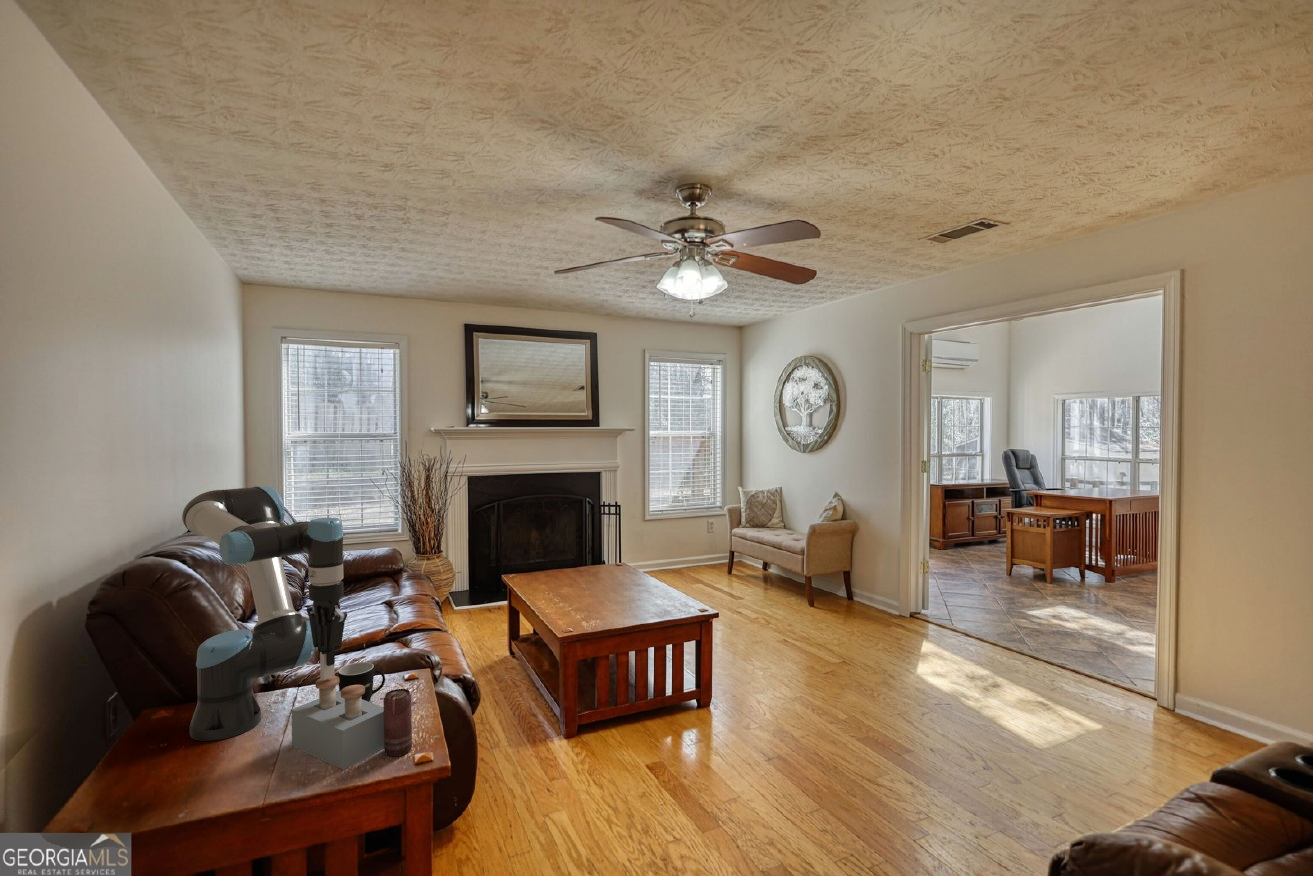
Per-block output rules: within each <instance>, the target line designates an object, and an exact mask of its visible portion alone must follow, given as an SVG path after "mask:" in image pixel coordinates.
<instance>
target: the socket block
mask: <svg viewBox="0 0 1313 876" xmlns="http://www.w3.org/2000/svg"><path fill="white" fill-rule="evenodd" d="M361 703H362V716H360V717H358V718H355V719H353V720H351V721H350V720H347V719H345V698H342V697H341V692H340V691H339V690H336V706H334V707H332V708H329V709H327V710H322V709H319V698H316V699H314V700H311V701H309V702H307V703H305V704H302V705H300V706H297V707H294V708H292V709H291V746H292V747H293V748H295V749H297V750H300V751H302V752H304V753H306V754H308V755H311V756H312V757H315V758H317V759H319V760H322V761H324V762H326V763H328V764H329V765H332V766H334V767H336V768H338V769H340V770H346V769H348V768H349V767H351V766H353V765H355V764H357V763H359V762H360V761H361V762H362V760H365V759H366V758H369V757H371V756H372V755H374V754H376V753H378V752H379V751H382V750H383V749H384V706H382V705H379V704H376V703H373V702H368V701H365V700H362V699H361Z"/></svg>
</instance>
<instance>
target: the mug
mask: <svg viewBox="0 0 1313 876" xmlns="http://www.w3.org/2000/svg"><path fill="white" fill-rule="evenodd" d="M374 666H375V665H374V664H373V663H371V662H367V661H358V662H352V663H349V664H346V665H343V666H342V667H340V668H339V669H338V671H337V677H339V684H338V691H340V692H341V690H342V689H343V688H345V687H348V686H351V685H363V686H365V693H364V694H363V695H361V699H362V700H365V701H368V702H370V701H371V699H372V696H373V695H374V694H376V693H377V692H379V691H380V690H381V689H382V688H383V686H384V685H385V683H386V676H385V673H384V672H383V671H381V670H379V669H375V667H374ZM375 674H380V675H381V677H382V679H381V680H382V681H381V684H380V685H379V686H378V687H376V688H375V689H374V678H375Z"/></svg>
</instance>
